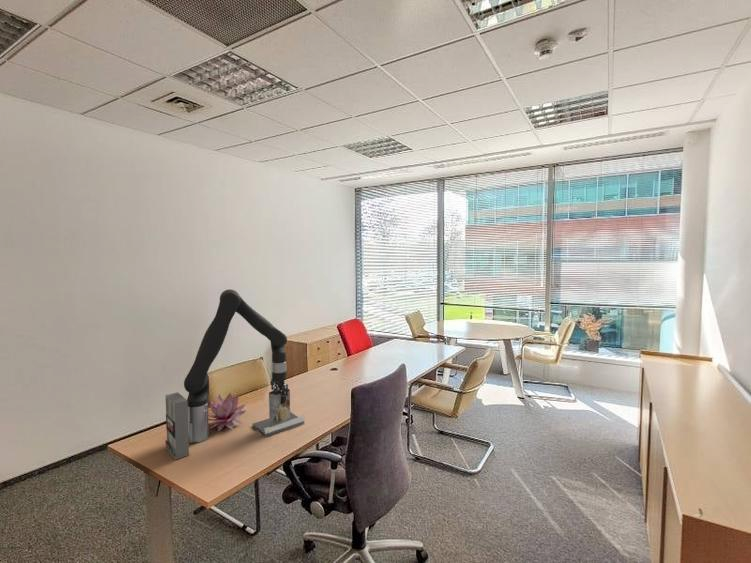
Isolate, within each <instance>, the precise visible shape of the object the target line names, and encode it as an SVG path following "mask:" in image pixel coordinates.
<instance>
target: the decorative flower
mask: <svg viewBox="0 0 751 563" xmlns="http://www.w3.org/2000/svg"><path fill="white" fill-rule="evenodd" d="M215 403H216V404H214V402H213V401H212V399H210V401H209V407H210V410H211V412H212V414H211V413H209V412H208V421H212V422H208V425H211V426H210V427H209V429H213V428H214V427H216V429H217V431H218V432H220V431H221V430H223V429H224V427H226V428H227V429H231V430H232V429H234V425H238V424H242V422H241V421H239V420H240V419H241V416H242V415H243V414H245V413H246V412H247V410H246V409H245V410H243V409H244V408H245V404H242V405H240V406H238V404H239V393H237V394H236V395H235V397H233V396H232V393H231V392H229V393H228V395H226V398H225V399H224V400H223V399H222V397H221V394H220V393H219V394H218V395H217V398H216V401H215ZM213 414H214V415H213ZM209 417H210V418H209ZM212 418H213V419H212ZM212 424H213V425H212Z"/></svg>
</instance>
